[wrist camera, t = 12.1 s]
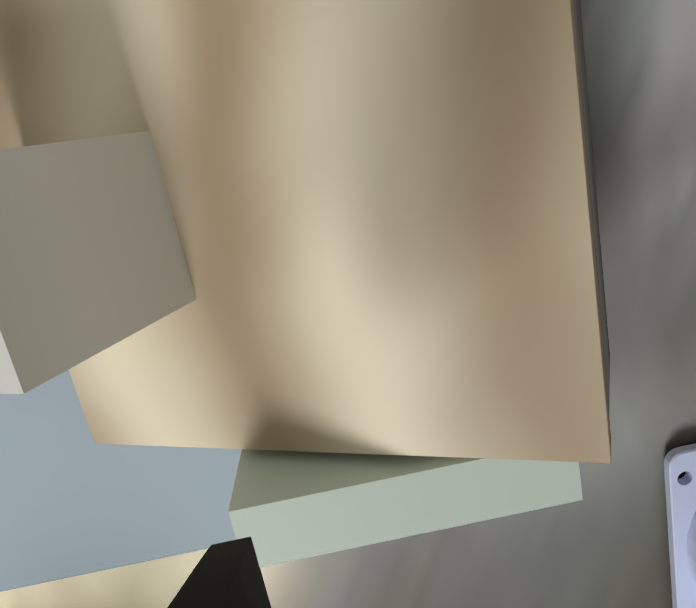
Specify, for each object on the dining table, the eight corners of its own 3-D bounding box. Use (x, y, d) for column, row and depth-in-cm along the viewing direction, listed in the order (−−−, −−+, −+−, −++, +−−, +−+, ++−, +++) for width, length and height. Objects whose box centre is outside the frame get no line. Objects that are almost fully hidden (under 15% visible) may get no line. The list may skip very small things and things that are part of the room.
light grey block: (196, 299, 15) (23, 393, 10) (76, 309, 16) (-116, 394, 12) (149, 130, 14) (-65, 158, 9) (26, 159, 15) (-204, 193, 11)
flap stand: (423, -184, 16) (490, -372, 10) (505, 408, 20) (584, 517, 14) (114, -121, 16) (-1, -273, 10) (267, 457, 20) (250, 588, 14)
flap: (566, -159, 13) (546, -254, 9) (611, 371, 16) (611, 463, 12) (76, 18, 18) (-60, 4, 15) (183, 380, 22) (94, 443, 18)
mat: (270, 527, 21) (270, 535, 20) (-33, 591, 21) (-40, 600, 20) (62, -239, 15) (55, -249, 14) (-365, -152, 15) (-383, -160, 14)
